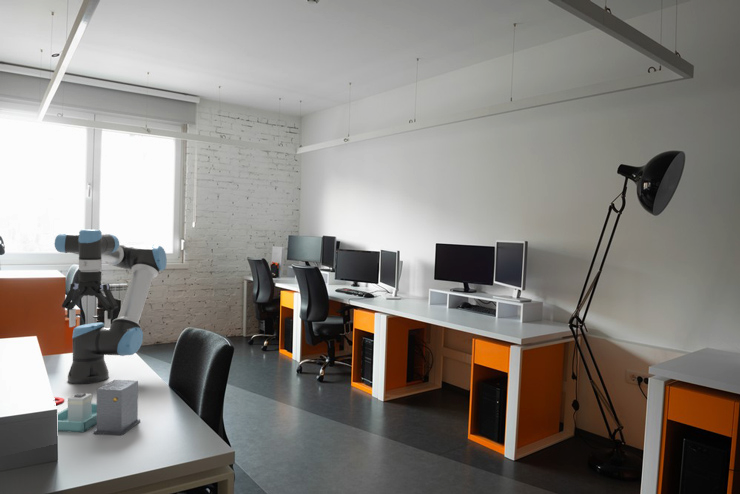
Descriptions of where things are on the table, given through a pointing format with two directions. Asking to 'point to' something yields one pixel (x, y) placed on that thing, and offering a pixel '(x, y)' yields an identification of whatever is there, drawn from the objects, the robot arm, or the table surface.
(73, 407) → the white tall square block
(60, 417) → the parts tray
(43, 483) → the table surface
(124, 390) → the controller unit
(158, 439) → the table surface
